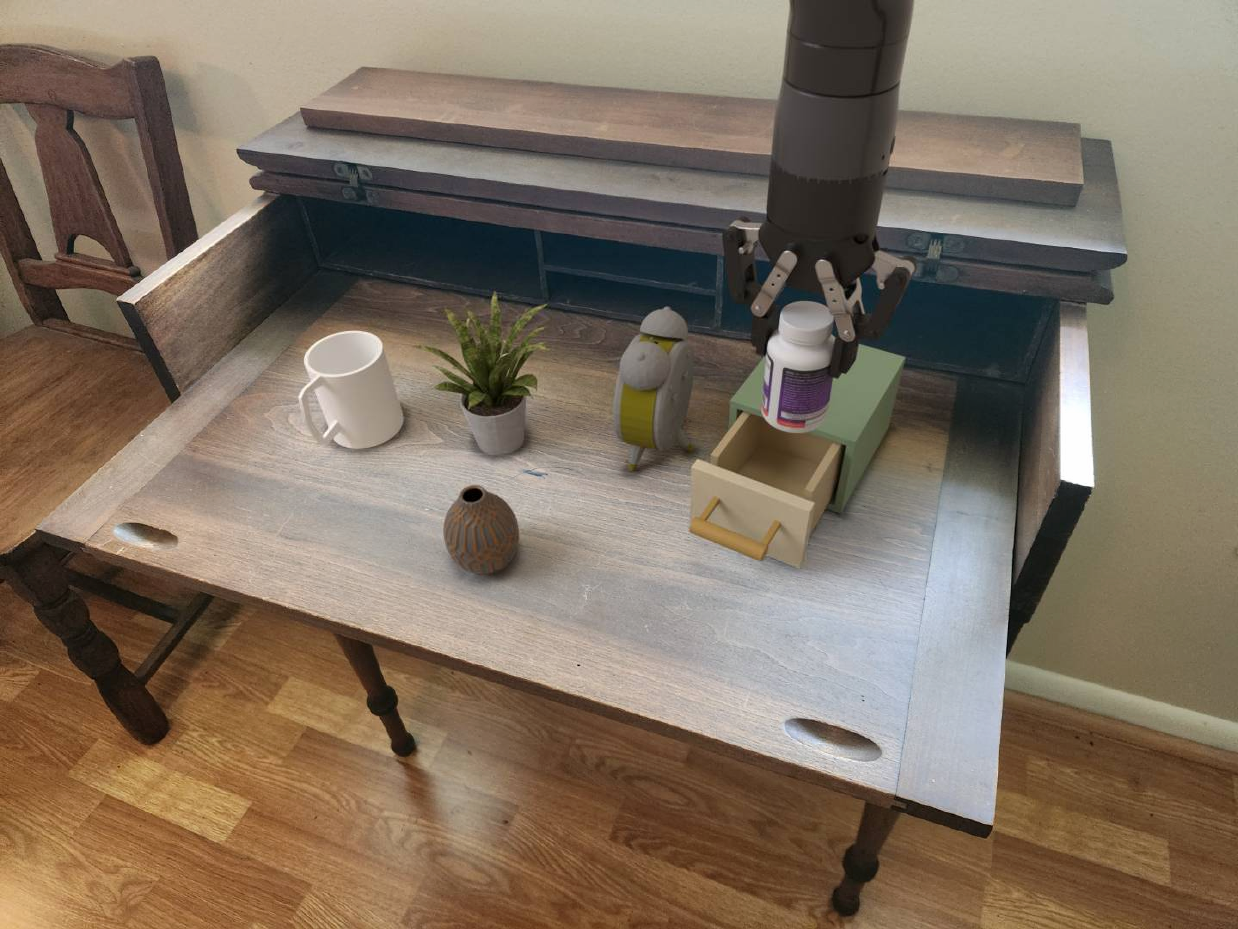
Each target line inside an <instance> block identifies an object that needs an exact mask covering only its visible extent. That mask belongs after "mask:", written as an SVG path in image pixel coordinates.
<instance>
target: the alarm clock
mask: <svg viewBox="0 0 1238 929" xmlns="http://www.w3.org/2000/svg"><path fill="white" fill-rule="evenodd" d="M639 331H640V332H641V333H639V334H638V335H636V336H634V337H633V339H632V340H631V342H630V343H629V344H628V347H627V348H626V349H625V351H623V354H622V356H621V357H620V361H619V370H618V374H617V378H616V382H615V389H614V395H613V401H612V422H613V430H614V433H615V435H616V437H617V438H618V439H619V440H620V441H621V442H623V443H625V444H627V445H630V447H629V461H628V470H629V471H632V472H635V471H636V469H637V467H638V465H639V462H640V460H641V458H642V457H643V454H644V452H645V450H646V449H650V450H655V451H667V450H669V449H671V448H672V447H673V446H674V444H675V443H676V444H678V445H679V446H680V447H681V448H683V449H684V450H685V451H686V452H688V453H689V452H691V451H693V449H694V448H693V445H692V443H691V442H690V440H689V439H688V436H687V435H686V434H685V432H684V430H683V425H684V423H685V419H686V416H687V414H688V409H689V406H690V399H691V395H692V390H693V383H694V375H695V374H694V372H695V357H694V356H695V355H694V350H693V346H692V345H691V343H690V342H689V341H688V340H687V338H688V336H689V329H688V326H687V323H686V320H685V319H684V318H683V316H682V315H680V314H679V313H678V312H676V311H674V310H672V308H671V307H669V306H664V307H663V308H661V309H655V310H653V311H651V312H649V313H648V315H646V317H645V318H644V319H643V320H642V321H641V324H640V328H639Z"/></svg>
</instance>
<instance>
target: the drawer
mask: <svg viewBox="0 0 1238 929" xmlns="http://www.w3.org/2000/svg"><path fill="white" fill-rule="evenodd" d="M845 450H846V445H843V444H840V443H837V442H834V441H831V440H828V439H825V438H822V437H819V436H816V435H813V434H810V433H807V432H805V433H789V432H785V431H781V430H779V429H776V428H775V427H773V426H771V425H770V424H769V423H768V422H767V421H766V420H765V418H763V417H760V416H757V415H754V414H751V413H748V412H745V411H743V412H742V414H741V415H740V416H739V418H738V419H737V420H736V422H735V423H734V424H733V426H732V427H731V428H730V430H729V431H727V432H726V434H725V435H724V436H723V437H722V439H721V440H720V442H719V443H717V445H716V447H715V448H714V450H713V451H712V452H711V454H710V463H709V462H707V461H705V460H702V459H699V458H697V459H696V460H695V461H694V462H693V464H692V466H691V470H690V471H691V472H690V505H689V506H690V510H689V528H688V532H689V533H690V534H693V535H695V536H697V537H700V538H702V539H705V540H706V541H709V542H712V543H715V544H717V545H719V546H721V547H724V548H726V549H729V550H731V551H734V552H737V553H739V554H741V555H743V556H746V557H748V558H750V559H753V560H756V561H758V562H760V563H762V562H764V560H765V559H766V557H770V558H772V559H775V560H776V561H778V562H782V563H784V564H787V565H789V566H791V567H794V568H796V569H799V570H801V568H803V565H804V563H805V561H806V556H807V551H808V546H809V545H808V544H809V541H810V536H811V534H812V532H813V531H814V529H815V528H816V526H817V523H818V522H819V521H820V519H821V517H822V515H823V513H824V512H825V510H826V509H827V508H826V506H827V505H828V503H829V501H830V500H831V498H832V496H833V494H834V493H835V491H836V489H837V487H838V485H839V480H840V475H841V470H842V465H843V460H844V455H845Z"/></svg>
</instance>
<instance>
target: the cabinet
mask: <svg viewBox="0 0 1238 929" xmlns="http://www.w3.org/2000/svg"><path fill="white" fill-rule="evenodd" d="M836 337H837V336H834V338H836ZM905 362H906V356H903V355H899V354H896V353H892V352H889V351H885V350H883V349H879V348H875V347H872V346H868V345H865V344H861V343H859V346H858V351H857V357H856V360H855V362H854V363H853V365H852V367H851V368H850V370H849V371H848V372H847V374H843V373H842V374H841V375H840V377H839V378H838V379H836V378H833V382H832V388H831V394H830V401H829V407H828V412H827V417H826V419H825V421H824V422H823V424H822V425H821V426H819V427H818V428H816V429H814V430H812V431H809V432H807V433H810V434H813V435H816V436H819V437H822V438H825V439H828V440H831V441H834V442H837V443H840V444H843V445H846V450H845V455H844V460H843V465H842V470H841V475H840V480H839V485H838V487H837V489H836V491H835V493H834V494H833V496H832V498H831V500H830V501H829V503H828V505H827V506H826V508H825V509H827V510H830V511H832V512H835V513H838V514H840V515H841V514H842V512H843V511H844V509H845V507H846V506H847V503H848V502H849V499H850V498H851V496H852V494H853V493H854V491H855V489H856V487H857V486H858V483H859V482H860V481H861V479H862V476H863V475H864V473H865V471H866V469H867V468H868V465H869V464H870V462H871V461H872V459H873V456H874V455H875V453H876V452H877V449H878V448H879V447H880V444H881V442H882V440H883V439H884V437H885V435H886V434H887V432H888V430H889V427H890V423H891V419H892V417H893V416H892V415H893V411H894V407H895V403H896V399H897V395H898V390H899V386H900V382H901V378H902V375H903V371H904V367H905ZM765 364H766V356H763V357H762V359H761V360H760V361H759V362H758V364H757V365H756V367H755V368H754V369H753V370H752V372H751V373H750V374H749V375H748V377H747V378H746V379H745V380H744V382H743V383H742V385H740V387H739V388H738V390H737V391H736V392H735V394H734V395H733V396H732V397H731V398H730V401H729V413H728V414H729V417H728V428H727V430H728V431H729V430H730V428H731V427H732V426H733V424H734V423H735V422H736V420H737V419H738V418H739V416H740V415H741V414H742V412H743V411H745V412H748V413H751V414H754V415H757V416H760V417H763V414H762V396H763V384H764V375H765ZM763 418H764V417H763ZM728 431H727V432H728Z"/></svg>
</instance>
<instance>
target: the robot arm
mask: <svg viewBox="0 0 1238 929" xmlns="http://www.w3.org/2000/svg"><path fill="white" fill-rule="evenodd" d="M788 3H789V7H788V8H789V9H788V16H787V17H788V18H787V25H786V26H787V27H786V35H785V45H784V55H783V56H784V57H783V65H782V66H783V67H782V77H781V83H780V88H779V93H778V97H777V102H776V106H775V110H774V111H775V112H774V120H773V130H772V140H771V141H772V142H771V152H770V164H769V172H768V173H769V174H768V184H767V198H766V206H765V207H766V209H765V211H766V216H765V219H764V221H763V222H751V220H750V219H749V217H748V216H746V215H740V216H738V217H737V218H736V219H735V220H734V221H733V222H732V223H731V224H729V226H728V227H727V228H726V229H725V230H724V231H723V232H722V234H721V240H722V247H723V254H724V261H725V270H726V276H727V277H726V278H727V284H728V293H729V297H730V299H731V301H732V302H734V303H735V304H742V303H743V304H744V305H746V306H747V307H748V308H749V309H750V311H751V313H752V317H751V329H750V343H751V346H752V347H755V354H756V355H758V356H762V357H764V356H766V354H767V345H768V341H769V338H770V336H771V335H772V334H773V332H774V331H776V330H777V324H778V316H779V309H780V305H779V304H776V301H777V300H778V298H779V297H780V295H781V293H782V292H783V291H784V289H785V288H788V289H792V290H794V291H795V290H796V291H808V292H810V293H812V294H814V295H815V296H818V297H821V298H825V302H826V307H828V309H829V313H830V314H831V315H833V316H834V322H835V326H836V329H837V333H838V334H837V335H836V336H835V337H836V338H835V341H834V347H833V353H832V359H831V365H830V370H829V376H830V377H833V378H836V379H838V378H839V377H840V375H841V374H842V373H843V374H847V372H848V371H849V370H850V368H851V367H852V365H853V363H854V362H855V360H856V357H857V351H858V346H859V344H860V341H861V339H866V340H867V341H869V342H872V343H873V342H878V341H879V340H880V339H881V338H882V336H883V334H884V332H885V330H886V328H887V327H888V326H889V325H890V323H891V321H892V319H893V317H894V316H895V314H896V311H897V309H898V308H899V305H900V303H901V301H902V299H903V297H904V295H905V293H906V290H907V289H908V286H909V285H910V282H911V280H912V279H913V276H914V274H915V271H916V270H917V267H918V264H919V263H918V260H917V258H916V257H915V256H913V255H911V254H907V255H904V256H902V257H901V258H899V257H896V256H894V255H891V254H889V253H887V252H885V251H883V250H881V247H880V246H881V245H880V243H879V240H878V235H877V228H878V223H879V218H880V212H881V207H882V203H883V197H884V192H885V187H886V181H887V177H888V173H889V172H888V171H889V166H890V162H891V156H892V154H893V152H894V149H895V143H896V131H897V130H896V129H897V123H898V118H899V105H900V104H899V101H900V100H899V99H900V88H901V78H902V75H903V70H904V65H905V60H906V55H907V54H906V53H907V49H908V44H909V43H908V42H909V38H910V32H911V27H912V23H913V17H914V16H913V15H914V10H915V0H788ZM759 243H760V246H761V247H762V250H763V251H764V253H765V254H766V256H767V258H768V260H769V263H770V264H771V265H772V267H773V268H772V270H771V271H770V273H769V275H768V277H767V279H766V280H765V281H764V283H763V284H762V285H761V284H760V283H758V275H757V274H758V273H757V266H756V257H755V249H756V248H757V247H758V245H759ZM870 269H873V270H874V272H875V274H876V280H875V283H876V285H877V288H878V289H879V290H881V291H882V292H881V294H880V296H879V298H878V300H877V303H876V305H875V307H874V309H873V311H872V313H871V312H870V313H866V312H865V308H864V304H863V301H862V300H863V299H862V293H863V288H862V283H861V279H860V277H861V276H862V275H864V274H865V273H866V272H867V271H868V270H870Z"/></svg>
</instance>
